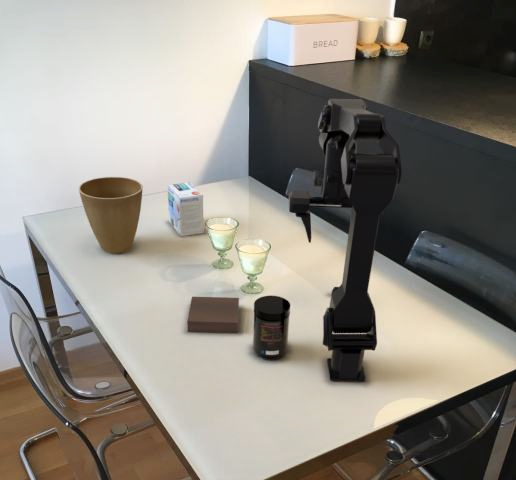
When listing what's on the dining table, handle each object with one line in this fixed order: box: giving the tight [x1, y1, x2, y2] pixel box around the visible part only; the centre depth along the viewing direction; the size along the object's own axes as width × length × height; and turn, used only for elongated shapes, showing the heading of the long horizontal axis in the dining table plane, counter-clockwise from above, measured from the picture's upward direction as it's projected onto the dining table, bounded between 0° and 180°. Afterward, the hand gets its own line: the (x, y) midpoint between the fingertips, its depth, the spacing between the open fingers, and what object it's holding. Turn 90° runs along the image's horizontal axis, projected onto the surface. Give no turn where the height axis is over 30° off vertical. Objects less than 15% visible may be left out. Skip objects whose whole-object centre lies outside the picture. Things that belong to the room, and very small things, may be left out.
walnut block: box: [186, 296, 240, 334], centre depth 124 cm, size 10×10×2 cm
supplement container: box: [252, 295, 291, 360], centre depth 113 cm, size 7×7×10 cm
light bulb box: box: [167, 181, 205, 237], centre depth 160 cm, size 11×7×11 cm, turn 25°
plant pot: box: [78, 176, 144, 255], centre depth 147 cm, size 15×15×16 cm
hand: (331, 242), depth 124 cm, fingers open, 9 cm apart
